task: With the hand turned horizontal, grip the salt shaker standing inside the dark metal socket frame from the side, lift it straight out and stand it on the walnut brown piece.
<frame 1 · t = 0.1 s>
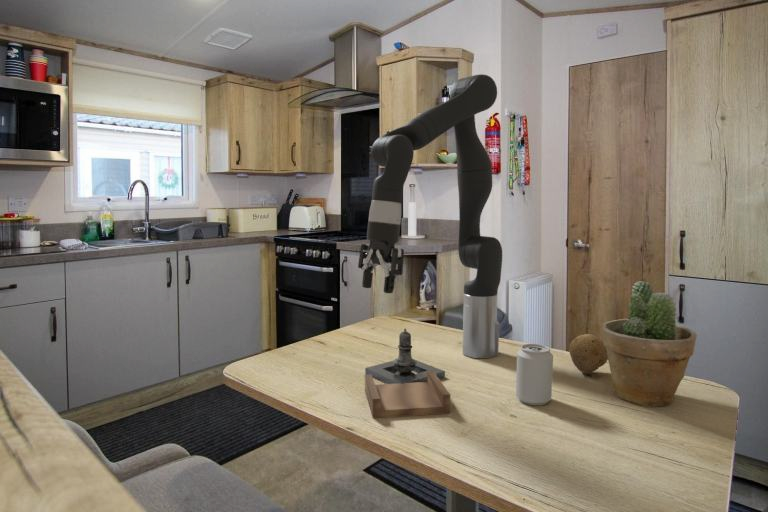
hand: (377, 290, 120), 22 cm above the table, tool pointing down, fingers open, 8 cm apart
brown piece: (405, 401, 111), on the table
potted plant: (643, 397, 114), on the table
socket frame: (404, 375, 127), on the table
salt shaker: (404, 376, 127), resting in socket frame
can: (533, 400, 112), on the table
natural sponge: (587, 373, 129), on the table
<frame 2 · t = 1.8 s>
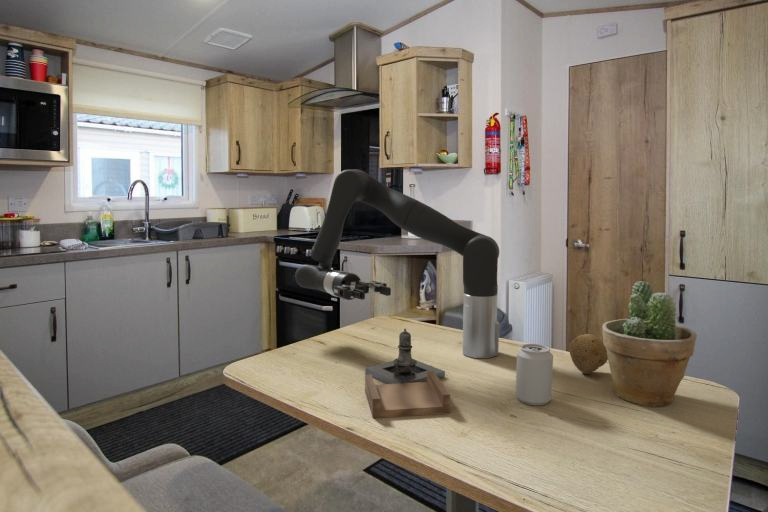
hand: (377, 293, 134), 19 cm above the table, tool horizontal, fingers open, 8 cm apart
nothing on the table moved.
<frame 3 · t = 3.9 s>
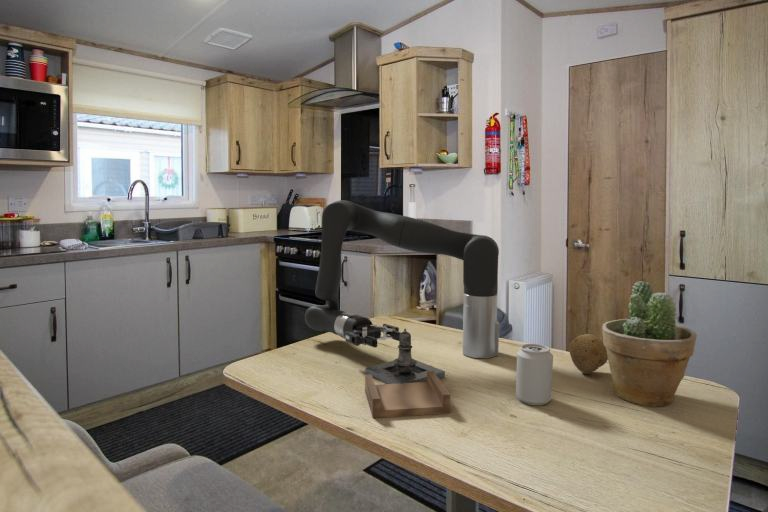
hand: (389, 340, 131), 7 cm above the table, tool horizontal, fingers open, 8 cm apart
nothing on the table moved.
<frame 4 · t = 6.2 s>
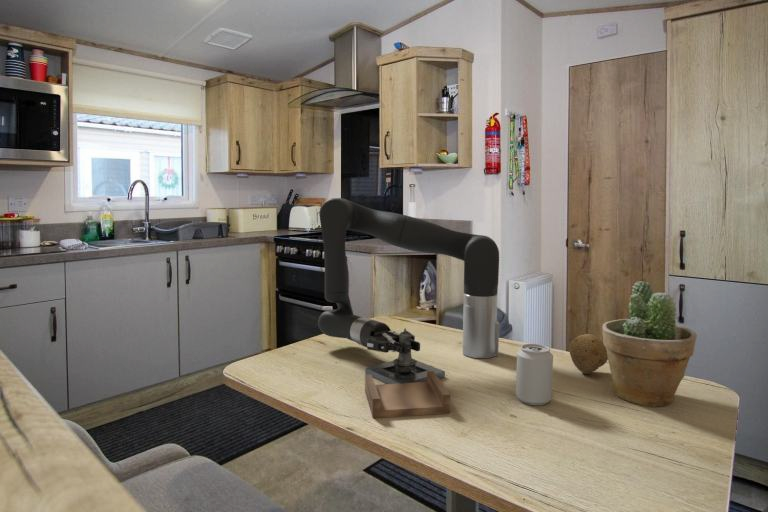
hand: (412, 348, 124), 8 cm above the table, tool horizontal, fingers closed on salt shaker, 3 cm apart
salt shaker: (404, 376, 127), resting in socket frame, touching gripper
everything else where it was.
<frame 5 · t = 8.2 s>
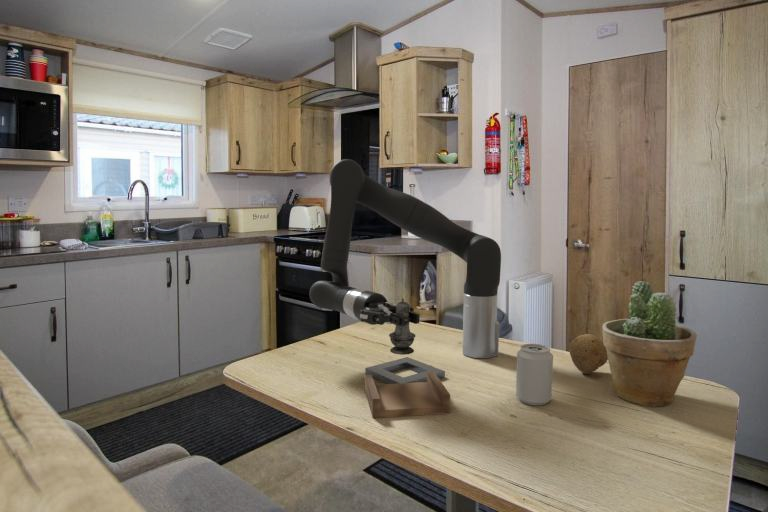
hand: (410, 320, 111), 18 cm above the table, tool horizontal, fingers closed on salt shaker, 3 cm apart
salt shaker: (402, 351, 114), point 10 cm above the table, touching gripper
everything else where it was.
when the fingers open (10 cm above the table, at t = 10.3 s): salt shaker stays where it is, resting on brown piece.
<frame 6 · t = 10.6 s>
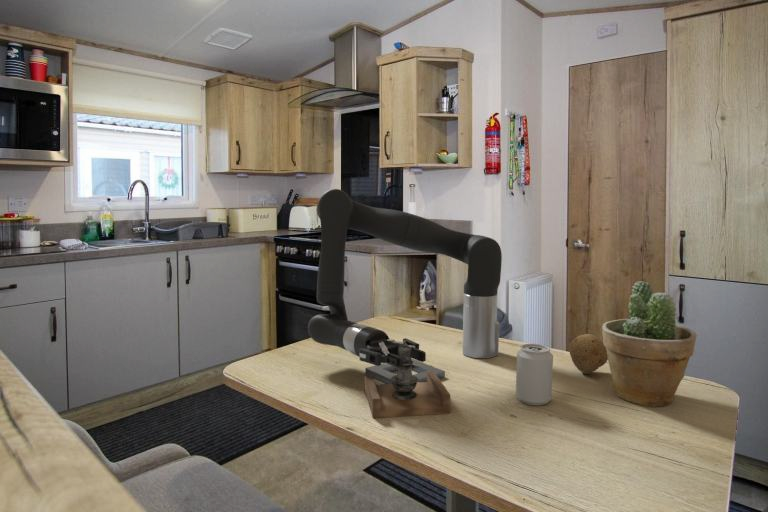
hand: (413, 360, 108), 10 cm above the table, tool horizontal, fingers open, 6 cm apart
salt shaker: (404, 395, 111), point 1 cm above the table, touching brown piece
everything else where it was.
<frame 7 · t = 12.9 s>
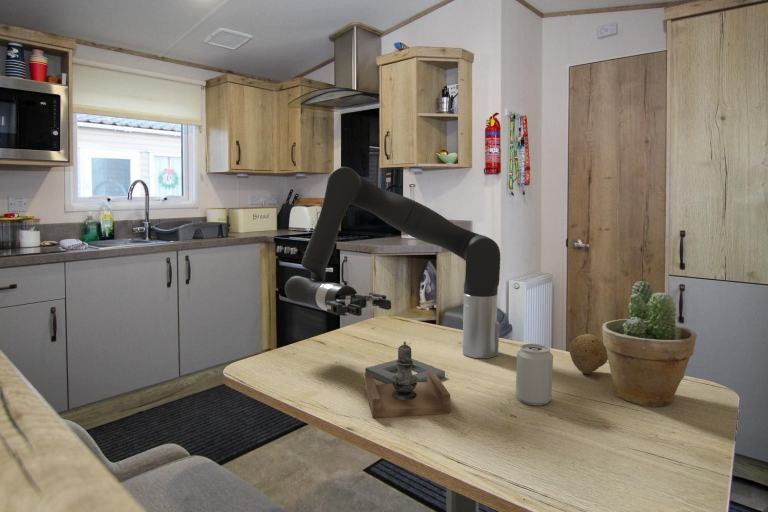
hand: (375, 308, 118), 19 cm above the table, tool horizontal, fingers open, 8 cm apart
nothing on the table moved.
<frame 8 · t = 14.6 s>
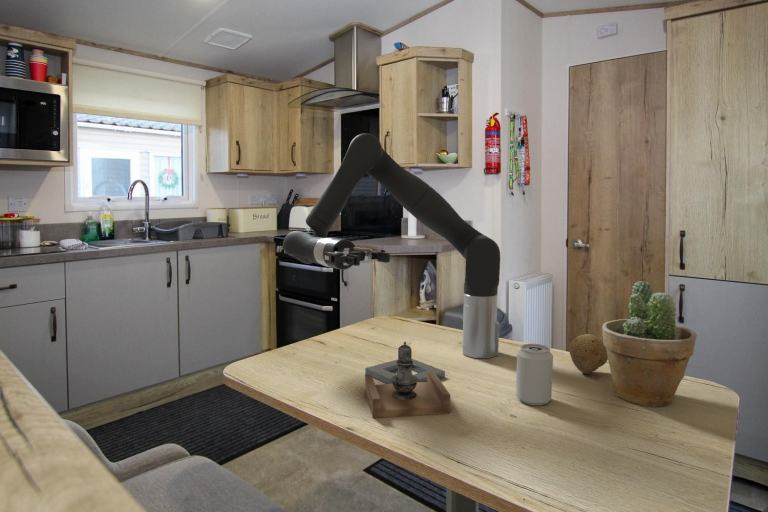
hand: (374, 259, 116), 30 cm above the table, tool horizontal, fingers open, 8 cm apart
nothing on the table moved.
at the end: salt shaker inside the target area on the brown piece (0.2 cm from its centre), point 1.3 cm above the brown piece's base; salt shaker tilted 0°; the gripper is holding nothing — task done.
